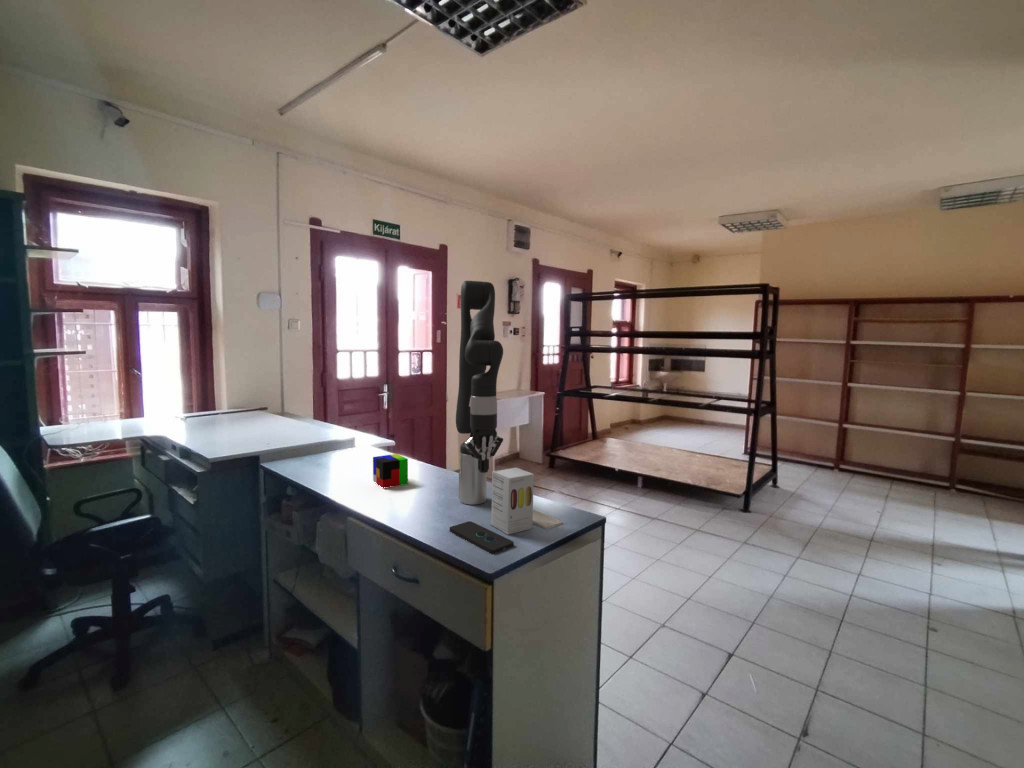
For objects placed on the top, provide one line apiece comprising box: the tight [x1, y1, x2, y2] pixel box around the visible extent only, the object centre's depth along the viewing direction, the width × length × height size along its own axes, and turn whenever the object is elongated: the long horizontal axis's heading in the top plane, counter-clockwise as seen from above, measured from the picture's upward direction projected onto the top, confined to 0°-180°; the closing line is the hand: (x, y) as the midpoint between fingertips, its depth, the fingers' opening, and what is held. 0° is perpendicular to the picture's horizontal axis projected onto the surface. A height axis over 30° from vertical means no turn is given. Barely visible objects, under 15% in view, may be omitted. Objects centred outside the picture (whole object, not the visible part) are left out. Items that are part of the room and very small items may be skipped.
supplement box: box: [490, 467, 535, 535], centre depth 141 cm, size 10×9×17 cm
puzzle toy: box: [372, 453, 409, 489], centre depth 183 cm, size 10×10×10 cm
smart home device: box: [449, 520, 515, 555], centre depth 133 cm, size 8×2×20 cm
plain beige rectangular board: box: [532, 508, 564, 530], centre depth 149 cm, size 16×7×1 cm, turn 40°
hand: (483, 472), depth 133 cm, fingers closed
